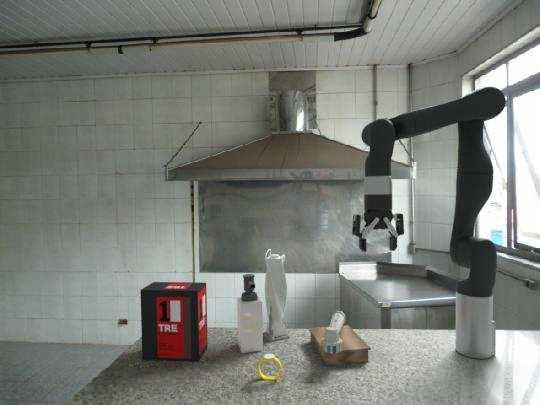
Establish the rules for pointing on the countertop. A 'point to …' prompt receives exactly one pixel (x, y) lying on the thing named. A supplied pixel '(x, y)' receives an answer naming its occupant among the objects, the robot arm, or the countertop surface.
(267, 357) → the watch
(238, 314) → the soap dispenser
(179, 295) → the cleaning product box
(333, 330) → the white handheld device
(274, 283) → the skyscraper
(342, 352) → the stand
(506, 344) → the countertop surface
